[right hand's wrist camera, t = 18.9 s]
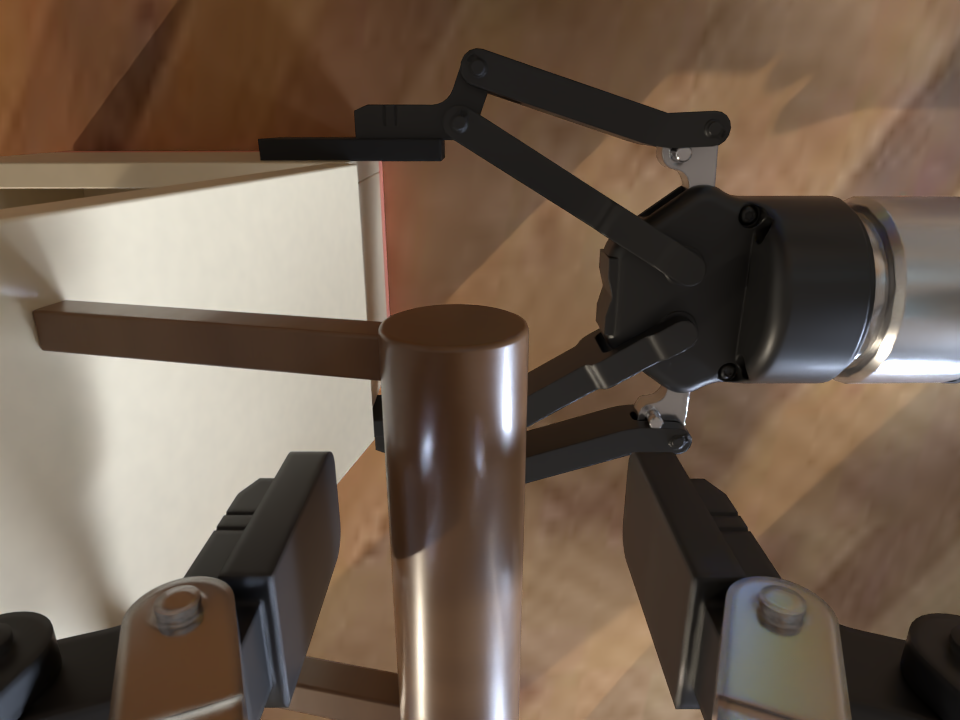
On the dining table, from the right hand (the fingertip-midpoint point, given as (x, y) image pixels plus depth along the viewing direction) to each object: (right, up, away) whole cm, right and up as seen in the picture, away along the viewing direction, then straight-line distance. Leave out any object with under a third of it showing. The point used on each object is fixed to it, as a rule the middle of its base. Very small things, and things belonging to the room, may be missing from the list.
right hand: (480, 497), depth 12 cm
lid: (-7, +2, +5) cm, 9 cm away
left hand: (-8, +5, +15) cm, 17 cm away
